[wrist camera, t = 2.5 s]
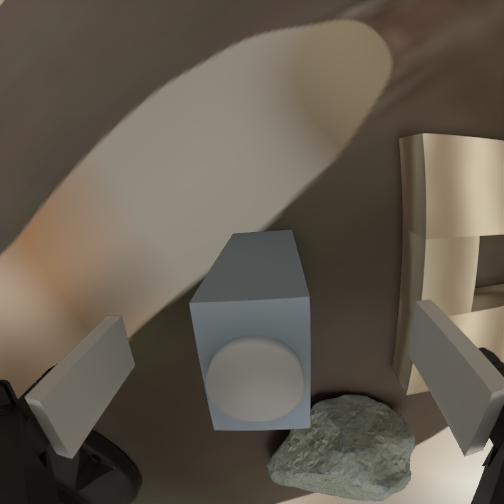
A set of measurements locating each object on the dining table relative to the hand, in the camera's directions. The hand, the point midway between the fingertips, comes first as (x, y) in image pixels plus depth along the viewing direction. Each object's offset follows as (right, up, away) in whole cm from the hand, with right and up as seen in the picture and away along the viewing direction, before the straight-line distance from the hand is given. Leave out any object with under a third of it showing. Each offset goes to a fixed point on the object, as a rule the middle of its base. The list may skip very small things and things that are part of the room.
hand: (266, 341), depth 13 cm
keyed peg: (0, +2, +10) cm, 10 cm away
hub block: (+18, +3, +8) cm, 20 cm away
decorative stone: (+7, -13, +13) cm, 20 cm away
